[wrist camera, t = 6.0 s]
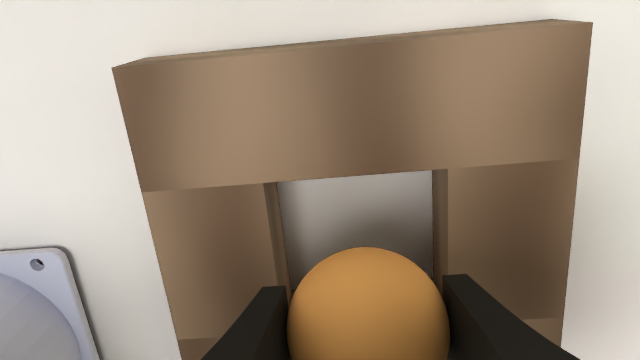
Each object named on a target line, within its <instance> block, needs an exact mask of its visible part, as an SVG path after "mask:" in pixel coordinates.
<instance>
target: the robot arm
mask: <svg viewBox="0 0 640 360" xmlns="http://www.w3.org/2000/svg"><path fill="white" fill-rule="evenodd" d="M36 259H39V260H41V261H42V262H43V264H44V265H41V264H39V263H38V262H37V260H36ZM442 299H443V301H444V304H445V306H446V310H447V314H448V318H449V325H450V346H449V352H448V356H447V360H580V359H578V358H577V357H575V356H573V355H572V354H570V353H568V352H567V351H565V350H563V349H562V348H560V347H559V346H557V345H556V344H554V343H553V342H551V341H550V340H548V339H547V338H545V337H544V336H543V335H541V334H540V333H538V332H537V331H535V330H534V329H533V328H531V327H530V326H529V325H527V324H526V323H525V322H523V321H522V320H521V319H519V318H518V317H517V316H515V315H514V314H513V313H512V312H510V311H509V310H508V309H507V308H505V307H504V306H503V305H502V304H501V303H499V302H498V301H497V300H496V299H495V298H494V297H492V296H491V295H490V294H489V293H488V292H487V291H486V290H484V289H483V288H482V287H481V286H480V285H479V284H478V283H476V282H475V281H474V280H473V279H472V278H471V277H470V276H468V275H467V274H455V275H442ZM288 311H289V307H288V299H287V292H286V285H284V286H268V287H262V288H261V289H260V290H259V292H258V293H257V294H256V295H255V297H254V298H253V299H252V301H251V302H250V303H249V304H248V306H247V307H246V308H245V310H244V311H243V312H242V313H241V315H240V316H239V317H238V318H237V320H236V321H235V322H234V323H233V324H232V325H231V327H230V328H229V329H228V330H227V331H226V333H225V334H224V335H223V336H222V337H221V338H220V339H219V341H218V342H217V343H216V344H215V345H214V346H213V347H212V348H211V349H210V350H209V351H208V352H207V353H206V354H205V355H204V356H203V357H202V359H201V360H292V359H291V357H290V353H289V349H288V344H287V334H286V327H287V315H288ZM0 360H100V359H99V356H98V353H97V350H96V346H95V343H94V340H93V337H92V334H91V331H90V327H89V324H88V321H87V318H86V315H85V312H84V308H83V305H82V302H81V299H80V296H79V293H78V289H77V286H76V283H75V280H74V277H73V273H72V270H71V267H70V264H69V261H68V258H67V256H66V254H65V253H64V252H63V251H61V250H59V249H57V248H40V249H26V250H12V251H0Z"/></svg>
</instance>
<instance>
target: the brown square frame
mask: <svg viewBox="0 0 640 360" xmlns="http://www.w3.org/2000/svg"><path fill="white" fill-rule="evenodd" d="M592 26H593V22H581V21H569V20H556V19H549V20H538V21H528V22H517V23H507V24H496V25H486V26H475V27H465V28H454V29H443V30H433V31H422V32H412V33H401V34H391V35H380V36H370V37H359V38H349V39H338V40H328V41H317V42H307V43H296V44H286V45H275V46H265V47H254V48H244V49H233V50H223V51H212V52H202V53H191V54H181V55H170V56H160V57H149V58H143V59H140V60H136V61H133V62H129V63H126V64H123V65H119V66H116V67H113V68H112V72H113V76H114V80H115V84H116V88H117V92H118V97H119V101H120V105H121V109H122V113H123V117H124V122H125V126H126V130H127V134H128V138H129V142H130V146H131V151H132V155H133V159H134V163H135V167H136V171H137V175H138V180H139V184H140V188H141V192H142V196H143V200H144V205H145V209H146V213H147V217H148V221H149V225H150V229H151V234H152V238H153V242H154V246H155V250H156V254H157V258H158V263H159V267H160V271H161V275H162V279H163V283H164V288H165V292H166V296H167V300H168V304H169V308H170V312H171V317H172V321H173V325H174V329H175V333H176V337H177V341H178V346H179V350H180V354H181V358H182V360H201V359H202V357H203V356H204V355H205V354H206V353H207V352H208V351H209V350H210V349H211V348H212V347H213V346H214V345H215V344H216V343H217V342H218V341H219V339H220V338H221V337H222V336H223V335H224V334H225V333H226V331H227V330H228V329H229V328H230V327H231V325H232V324H233V323H234V322H235V321H236V320H237V318H238V317H239V316H240V315H241V313H242V312H243V311H244V310H245V308H246V307H247V306H248V304H249V303H250V302H251V301H252V299H253V298H254V297H255V295H256V294H257V293H258V292H259V290H260V289H261V288H262V287H268V286H284V285H286V292H287V299H288V307H290V303H291V300H292V298H293V295H294V293H295V291H294V292H291V288H290V280H289V273H288V265H287V258H286V250H285V243H284V235H283V228H282V221H281V213H280V206H279V198H278V191H277V183H276V182H283V181H296V180H308V179H321V178H334V177H347V176H360V175H373V174H386V173H399V172H412V171H425V170H432V197H433V275H434V284H435V286H436V287H437V289H438V291H439V292H440V294H441V297H442V275H455V274H467V275H468V276H470V277H471V278H472V279H473V280H474V281H475V282H476V283H478V284H479V285H480V286H481V287H482V288H483V289H484V290H486V291H487V292H488V293H489V294H490V295H491V296H492V297H494V298H495V299H496V300H497V301H498V302H499V303H501V304H502V305H503V306H504V307H505V308H507V309H508V310H509V311H510V312H512V313H513V314H514V315H515V316H517V317H518V318H519V319H521V320H522V321H523V322H525V323H526V324H527V325H529V326H530V327H531V328H533V329H534V330H535V331H537V332H538V333H540V334H541V335H543V336H544V337H545V338H547V339H548V340H550V341H551V342H553V343H554V344H556V345H557V346H559V347H561V337H562V327H563V317H564V307H565V297H566V287H567V277H568V267H569V257H570V247H571V237H572V226H573V216H574V206H575V196H576V186H577V176H578V166H579V156H580V146H581V136H582V126H583V116H584V106H585V96H586V86H587V76H588V66H589V56H590V46H591V36H592Z"/></svg>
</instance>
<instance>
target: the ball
mask: <svg viewBox="0 0 640 360" xmlns="http://www.w3.org/2000/svg"><path fill="white" fill-rule="evenodd" d="M286 334H287V344H288V349H289V353H290V357H291V359H292V360H447V356H448V352H449V346H450V325H449V318H448V314H447V310H446V306H445V304H444V301H443V299H442V297H441V294H440V292H439V291H438V289H437V287H436V286H435V284H434V283H433V281H432V280H431V279H430V278H429V277H428V275H427V274H426V273H425V272H424V271H423V270H422V269H421V268H420V267H419V266H417V265H416V264H415V263H413V262H412V261H410V260H409V259H407V258H406V257H404V256H402V255H400V254H398V253H395V252H392V251H389V250H385V249H381V248H375V247H357V248H350V249H346V250H342V251H340V252H337V253H335V254H332V255H331V256H329V257H327V258H325V259H323V260H322V261H321V262H319V263H318V264H316V265H315V266H314V267H313V268H312V269H311V270H310V271H309V272H308V273H307V275H306V276H305V277H304V278H303V279H302V281H301V282H300V284H299V286H298V287H297V289H296V291H295V293H294V295H293V298H292V300H291V303H290V307H289V311H288V315H287V327H286Z"/></svg>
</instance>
